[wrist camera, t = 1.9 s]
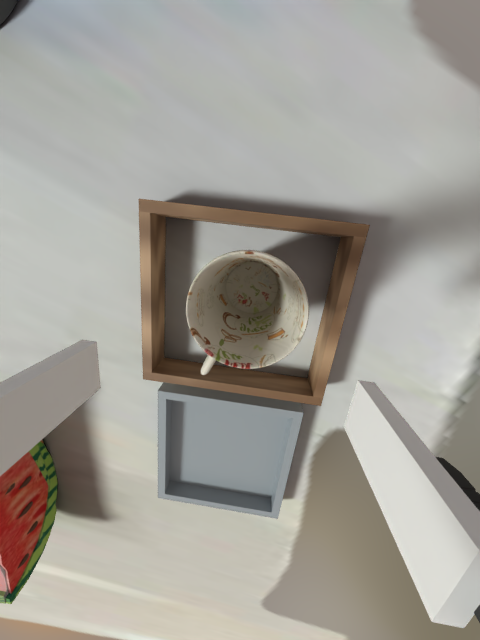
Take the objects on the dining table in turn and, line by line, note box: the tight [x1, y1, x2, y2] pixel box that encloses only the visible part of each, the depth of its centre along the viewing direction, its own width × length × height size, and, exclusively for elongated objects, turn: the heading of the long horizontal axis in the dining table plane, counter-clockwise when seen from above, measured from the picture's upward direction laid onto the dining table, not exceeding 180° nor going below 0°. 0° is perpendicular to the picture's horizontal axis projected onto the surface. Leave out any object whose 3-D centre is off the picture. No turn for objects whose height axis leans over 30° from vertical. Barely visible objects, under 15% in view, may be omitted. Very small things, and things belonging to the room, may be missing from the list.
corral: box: [139, 199, 370, 406], centre depth 24 cm, size 18×20×4 cm
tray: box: [158, 382, 304, 519], centre depth 31 cm, size 18×17×2 cm
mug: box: [186, 250, 309, 375], centre depth 21 cm, size 8×13×10 cm, turn 151°
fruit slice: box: [0, 440, 58, 604], centre depth 32 cm, size 26×6×10 cm, turn 176°
